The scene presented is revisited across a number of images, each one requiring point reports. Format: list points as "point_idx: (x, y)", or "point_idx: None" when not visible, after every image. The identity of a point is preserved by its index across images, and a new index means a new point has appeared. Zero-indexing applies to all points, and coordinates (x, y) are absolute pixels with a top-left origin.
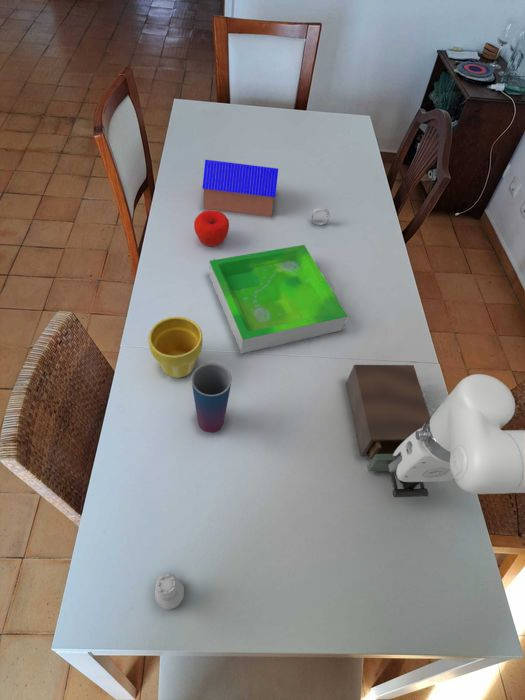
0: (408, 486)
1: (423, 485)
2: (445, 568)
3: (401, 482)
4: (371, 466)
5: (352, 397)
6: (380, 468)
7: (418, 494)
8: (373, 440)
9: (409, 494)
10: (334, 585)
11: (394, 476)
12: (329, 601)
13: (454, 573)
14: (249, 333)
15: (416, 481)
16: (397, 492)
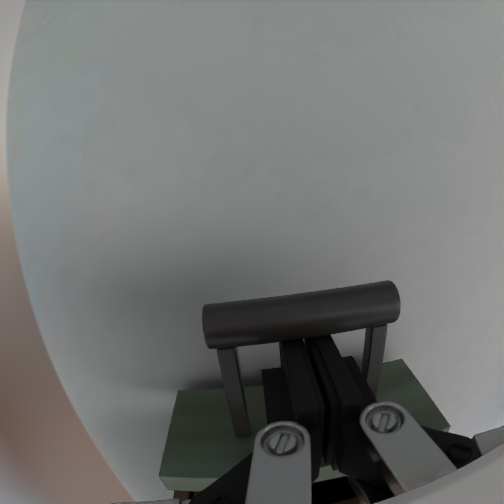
0: (334, 353)
1: (223, 361)
2: (151, 25)
3: (354, 363)
4: (419, 384)
5: None
6: (380, 384)
7: (266, 314)
8: None
9: (324, 307)
10: (494, 30)
11: (369, 378)
12: (494, 8)
13: (123, 19)
14: None
15: (496, 470)
16: (390, 309)
